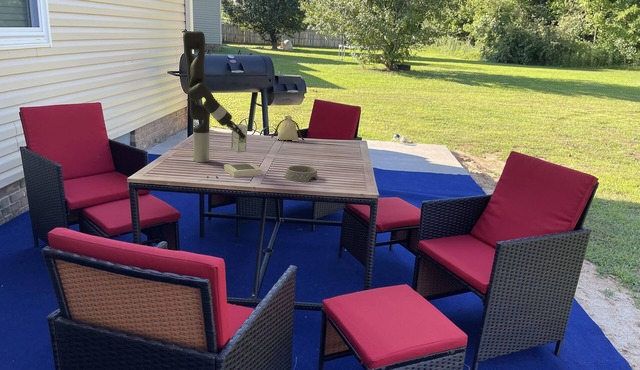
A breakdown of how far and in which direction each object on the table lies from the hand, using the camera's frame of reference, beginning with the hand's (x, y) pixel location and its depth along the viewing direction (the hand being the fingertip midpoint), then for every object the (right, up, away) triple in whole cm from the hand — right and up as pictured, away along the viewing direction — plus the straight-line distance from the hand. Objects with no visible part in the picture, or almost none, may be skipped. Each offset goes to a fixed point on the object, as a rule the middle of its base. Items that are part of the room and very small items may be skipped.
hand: (241, 136), depth 264 cm
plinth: (0, -19, +6) cm, 20 cm away
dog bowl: (+32, -23, +3) cm, 39 cm away
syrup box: (-2, -8, +2) cm, 9 cm away
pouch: (+18, +6, +101) cm, 103 cm away
